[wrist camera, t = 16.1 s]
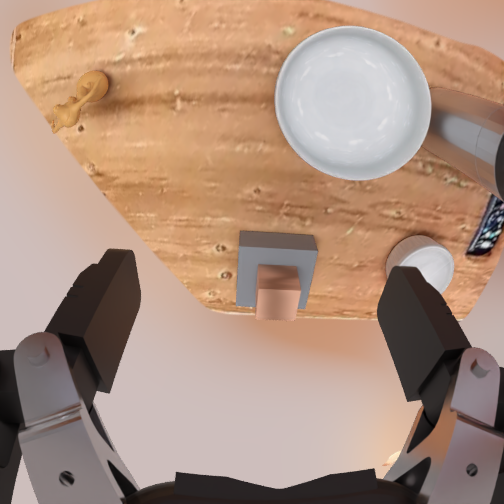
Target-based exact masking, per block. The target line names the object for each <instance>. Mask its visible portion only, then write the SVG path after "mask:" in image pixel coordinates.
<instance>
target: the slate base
mask: <svg viewBox="0 0 504 504" xmlns="http://www.w3.org/2000/svg"><path fill="white" fill-rule="evenodd" d="M317 253H318V250H317V246H316V243H315V240H314V237H313V235H301V234H286V233H270V232H254V231H240V240H239V256H238V275H237V295H236V306H245V307H256V300H255V293H256V282H257V271H258V264H265V265H285V266H297V271H298V277H299V282H300V287H301V294H300V299H299V303H298V308H297V309H305V307H306V303H307V298H308V294H309V290H310V285H311V281H312V276H313V272H314V267H315V263H316V258H317Z"/></svg>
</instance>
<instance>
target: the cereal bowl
mask: <svg viewBox="0 0 504 504" xmlns="http://www.w3.org/2000/svg"><path fill="white" fill-rule="evenodd" d="M274 104H275V112H276V116H277V120H278V124H279V126H280V129H281V131H282V133H283V135H284V137H285V138H286V140H287V142H288V143H289V144H290V146H291V147H292V149H293V150H294V151H295V152H296V153H297V154H298V155H299V156H300V157H301V158H302V159H303V160H304V161H305V162H307V163H308V164H309V165H311V166H312V167H314V168H315V169H317V170H319V171H321V172H323V173H325V174H328V175H330V176H333V177H337V178H341V179H346V180H356V181H360V180H371V179H375V178H379V177H383V176H385V175H388V174H390V173H392V172H394V171H396V170H397V169H399V168H401V167H402V166H403V165H405V164H406V163H407V162H408V161H409V160H410V159H411V158H412V157H413V156H414V155H415V154H416V152H417V151H418V150H419V148H420V147H421V145H422V143H423V141H424V139H425V137H426V134H427V131H428V128H429V124H430V119H431V96H430V90H429V86H428V83H427V80H426V78H425V75H424V73H423V71H422V69H421V68H420V66H419V64H418V63H417V61H416V60H415V58H414V57H413V56H412V55H411V54H410V52H409V51H408V50H407V49H406V48H405V47H403V46H402V45H401V44H400V43H398V42H397V41H396V40H394V39H393V38H391V37H389V36H387V35H386V34H383V33H381V32H379V31H376V30H373V29H369V28H365V27H360V26H339V27H333V28H329V29H325V30H322V31H319V32H317V33H315V34H313V35H311V36H309V37H308V38H306V39H305V40H303V41H302V42H301V43H299V44H298V45H297V46H296V47H295V48H294V49H293V50H292V51H291V52H290V54H289V55H288V56H287V58H286V59H285V61H284V63H283V64H282V67H281V69H280V71H279V74H278V77H277V81H276V85H275V96H274Z"/></svg>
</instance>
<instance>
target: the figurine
mask: <svg viewBox="0 0 504 504" xmlns="http://www.w3.org/2000/svg"><path fill="white" fill-rule="evenodd" d="M107 89H108V79H107V77H106V76H105V75H104V74H103V73H102V72H99V71H90V72H87V73H85V74H84V75H83V76H82V77H81V78H80V79H79V81H78V83H77V94H76V98H75V97H69V98H68V102H67V103H65V104H64V105H60V104H57V105H56V106H55V107H54V108H53V111H54V114H55V115H56V116H57V117H58V122H57V125H56V126H55V124H54V120H53V121H52V126H51V128H52V132H53V133H54V134H55V133H56V132H58V131H59V129H60V128H62V127H63V126H65V127H72V126H74V125H75V124H76V123H77V122H78V120H79V117H80V111H81V107H82V106H83V105H84V104H85V103H86V102H95V101H98V100H99V99H101V98H102V97H103V96H104V95H105V94H106V92H107Z"/></svg>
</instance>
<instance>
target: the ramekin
mask: <svg viewBox="0 0 504 504" xmlns="http://www.w3.org/2000/svg"><path fill="white" fill-rule="evenodd" d="M394 266H414V267H417V268H418V269H419V270H420V272H421V273H422V275H423V277H424V278H425V280H426V281H427V282H429V283H430V284H431V285H432V286H433V287H434V288H435V289H436V290H438V291H439V292H440V294H442V293H443V292H444V291H445V289H446V288H447V287H448V285H449V283H450V281H451V279H452V276H453V272H454V260H453V257H452V255H451V253H450V252H449V251H448V250H447V249H446V248H445V247H444V246H442V245H440V244H438V243H437V242H436V241H434V240H433V239H431V238H429V237H427V236H423V235H415V236H411V237H408V238H406V239H404V240H402V241H401V242H400V243H398V244H397V245H396V246H395V247H394V249H393V250H392V251H391V253H390V255H389V257H388V259H387V262H386V275H387V279H388V277H389V274H390V271H391V269H392V268H393V267H394Z"/></svg>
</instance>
